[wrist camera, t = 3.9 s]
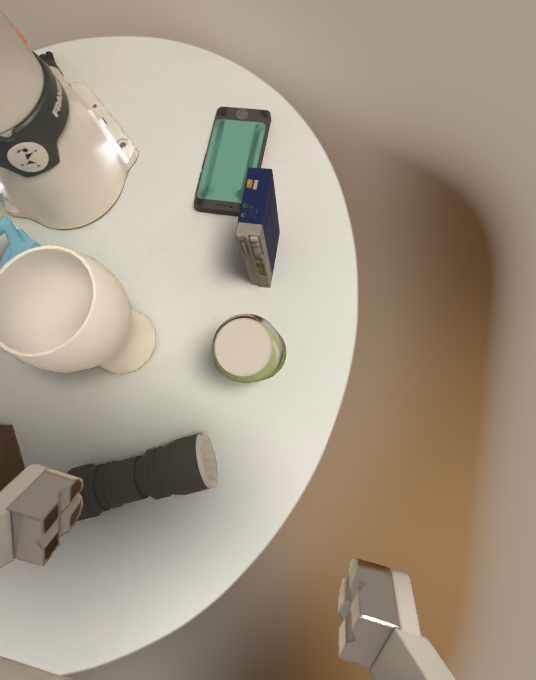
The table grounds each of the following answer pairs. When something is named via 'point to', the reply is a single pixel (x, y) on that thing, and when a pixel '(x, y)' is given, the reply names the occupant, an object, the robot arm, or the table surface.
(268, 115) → the smartphone
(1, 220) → the chair
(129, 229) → the table surface
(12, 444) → the can holder
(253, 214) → the blue rectangular block
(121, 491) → the flashlight
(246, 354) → the beverage can
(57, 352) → the cup
